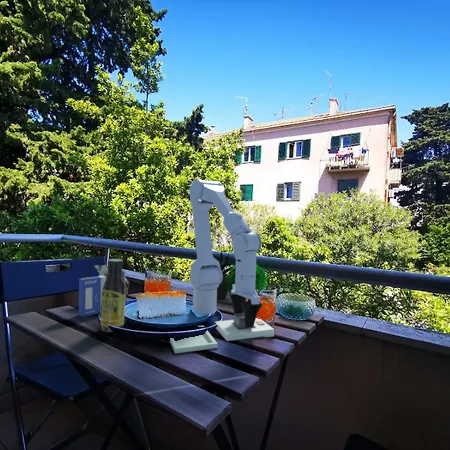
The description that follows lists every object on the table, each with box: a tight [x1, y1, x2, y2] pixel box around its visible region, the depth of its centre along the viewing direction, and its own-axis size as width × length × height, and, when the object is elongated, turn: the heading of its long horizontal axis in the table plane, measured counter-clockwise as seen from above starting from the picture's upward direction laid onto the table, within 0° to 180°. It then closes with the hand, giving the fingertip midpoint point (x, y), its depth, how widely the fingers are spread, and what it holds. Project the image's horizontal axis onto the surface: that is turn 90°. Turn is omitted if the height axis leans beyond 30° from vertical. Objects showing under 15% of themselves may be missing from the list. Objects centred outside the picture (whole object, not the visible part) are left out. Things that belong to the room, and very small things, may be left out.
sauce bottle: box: [100, 258, 126, 333], centre depth 88 cm, size 6×6×20 cm
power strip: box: [214, 317, 275, 342], centre depth 89 cm, size 10×14×2 cm
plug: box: [233, 312, 252, 330], centre depth 89 cm, size 4×4×5 cm
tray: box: [169, 325, 219, 354], centre depth 82 cm, size 13×11×2 cm
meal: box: [93, 264, 130, 303], centre depth 112 cm, size 15×4×13 cm, turn 65°
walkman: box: [78, 275, 106, 318], centre depth 101 cm, size 8×3×12 cm, turn 135°
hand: (243, 322), depth 89 cm, fingers open, 7 cm apart
